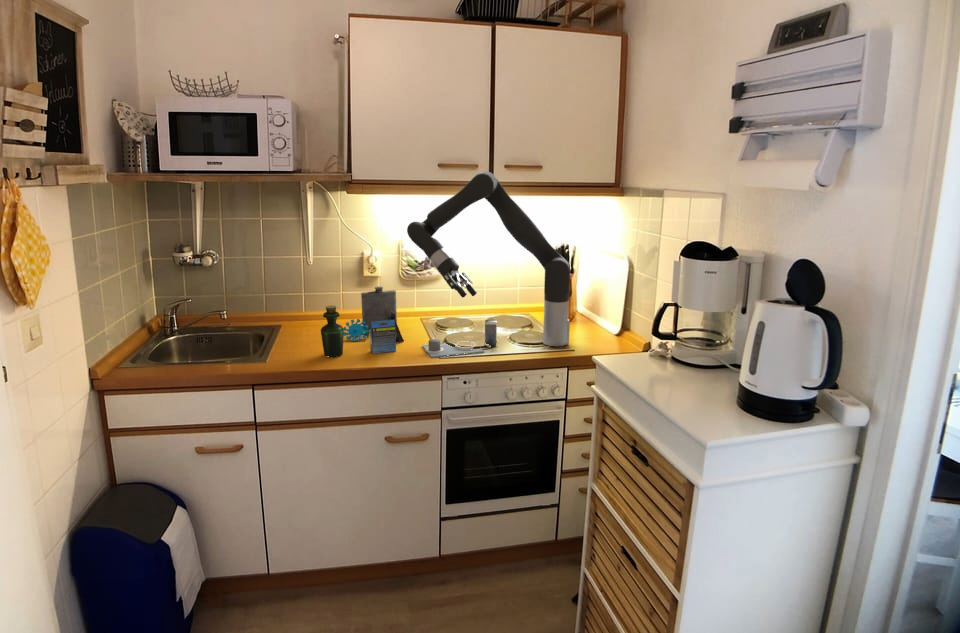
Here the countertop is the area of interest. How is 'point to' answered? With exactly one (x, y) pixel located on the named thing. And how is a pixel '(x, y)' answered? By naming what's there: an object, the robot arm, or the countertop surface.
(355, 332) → the blue virus model
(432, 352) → the plate
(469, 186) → the robot arm
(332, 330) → the potion bottle
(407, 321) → the countertop surface
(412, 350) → the countertop surface
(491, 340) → the steel pin
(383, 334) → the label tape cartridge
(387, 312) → the door stopper
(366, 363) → the countertop surface
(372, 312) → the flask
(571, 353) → the countertop surface
